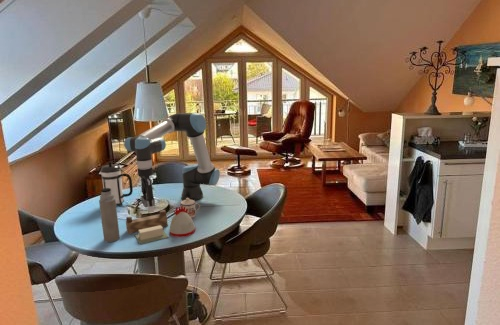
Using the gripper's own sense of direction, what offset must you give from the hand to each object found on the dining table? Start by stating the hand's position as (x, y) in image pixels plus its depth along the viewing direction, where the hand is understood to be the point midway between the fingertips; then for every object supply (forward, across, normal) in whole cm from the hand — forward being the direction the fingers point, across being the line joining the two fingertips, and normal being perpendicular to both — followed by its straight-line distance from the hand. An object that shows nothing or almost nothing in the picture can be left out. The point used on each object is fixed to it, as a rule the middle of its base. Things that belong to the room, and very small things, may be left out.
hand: (148, 209), depth 197 cm
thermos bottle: (+16, -9, -19) cm, 27 cm away
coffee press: (+16, -66, -7) cm, 68 cm away
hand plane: (+16, -13, +1) cm, 21 cm away
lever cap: (-3, 0, 0) cm, 3 cm away
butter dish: (+16, 0, 0) cm, 16 cm away
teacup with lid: (+16, -18, +29) cm, 38 cm away
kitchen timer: (+16, +2, +17) cm, 23 cm away
